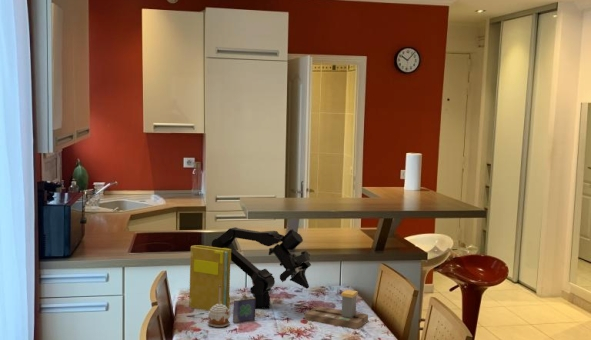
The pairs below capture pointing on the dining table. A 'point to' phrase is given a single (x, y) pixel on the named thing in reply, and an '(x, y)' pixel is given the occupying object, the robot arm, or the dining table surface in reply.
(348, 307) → the switch handle
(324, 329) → the dining table surface
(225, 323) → the candy apple
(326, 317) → the wooden slotted board
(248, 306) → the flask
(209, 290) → the book
